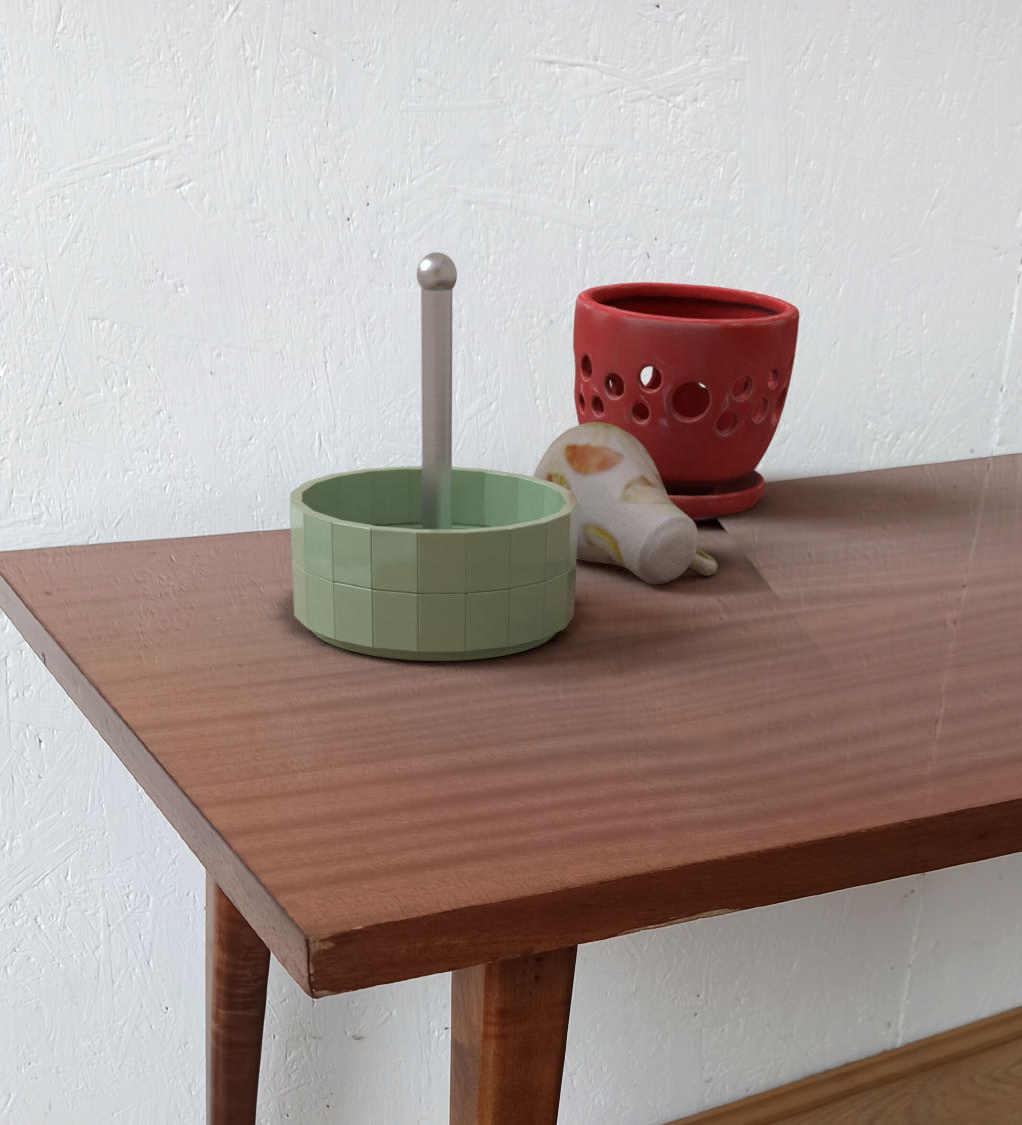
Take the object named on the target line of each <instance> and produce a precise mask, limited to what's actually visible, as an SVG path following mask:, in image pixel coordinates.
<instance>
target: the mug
mask: <svg viewBox="0 0 1022 1125" xmlns="http://www.w3.org/2000/svg"><path fill="white" fill-rule="evenodd" d="M532 477H535V478H539V479H542V480H546V481H550V482H553V483H556V484H558V485H560V486H562V487H563V488H565V489H567V490H569V491H571V492H573V493H574V495H575V497H576V499H577V501H578V503H579V510H578V534H577V558H576V560H581V561H584V562H585V561H586V562H590V563H599V564H606V565H613V566H620V567H623V568H624V569H627V570H628V571H630V572H631V573H633V574H634V575H636V576H637V577H638V578H639V579H641V580H642V581H644V582H645V583H647V584H650V585H662V584H666V583H668V582H671V581H673V580H675V579H677V578H679V577H680V576H681V575H682V574H683V573H684V572H685V571H686V570H687V569H688V568H689V570H693V571H695V572H697V573H698V574H699V575H702V576H713V575H715V574H716V572H717V570H718V563H717V561H716V560H715V558H714V557H712V556H711V555H709V554H708V553H707V552H705V551H703V550H701V549H700V548H698V544H699V533H698V529H697V525H696V522H694V521H693V520H692V519H691V518H690V517H689V516H688V515H686V514H685V513H684V512H683V511H681V510H680V509H679V508H678V507H677V506H676V505H675V504H673V502H672V501H671V500H670V498H669V497H668V494H667V492H666V490H665V487H664V485H663V483H662V480H661V477H660V475H659V472H658V470H657V468H656V466H655V464H654V462H653V460H652V458H651V456H650V454H649V453H648V451H647V450H646V449H645V447H644V446H643V445H642V444H641V443H640V442H639V441H638V440H637V439H636V438H635V437H634V436H632V435H631V434H630V433H628V432H626V431H625V430H623V429H621V428H619V427H617V426H614V425H611V424H607V423H601V422H592V423H586V424H581V425H579V424H577V425H575V426H573V427H569V428H568V429H566V430H565V431H564V432H562V433H561V434H560V435H558V436H557V437H556V438H555V439H554V440H553V441H552V442H551V443H550V444H549V446H548V448H547V449H546V451H545V453H544V454H543V455H542V457H541V459H540V460H539V462H538V465H537V466H536V468H535V471H534V473H533V476H532Z"/></svg>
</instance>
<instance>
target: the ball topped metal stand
mask: <svg viewBox="0 0 1022 1125" xmlns="http://www.w3.org/2000/svg"><path fill="white" fill-rule="evenodd" d="M457 279H458V270H457V267H456V264H455V262H454V261H453V260H452V258H451V257H450V256H448V255H447V254H445V253H443V252H437V251H436V252H435V251H434V252H430V253H428V254H426V255H424V257H422V259H421V260H420V261H419V263H418V265H417V268H416V280H417V283H418V286H419V287H420V294H421V295H420V311H421V312H420V314H421V315H420V318H421V319H420V320H421V321H420V323H421V324H420V326H421V329H420V331H421V332H420V333H421V334H420V336H421V337H420V338H421V342H420V343H421V349H420V350H421V351H420V352H421V466H422V529H451V507H452V467H453V466H452V465H453V463H452V462H453V290H454V288H455V286H456V283H457Z"/></svg>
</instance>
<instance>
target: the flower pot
mask: <svg viewBox="0 0 1022 1125" xmlns="http://www.w3.org/2000/svg"><path fill="white" fill-rule="evenodd" d="M573 317H574V318H573V332H572V334H573V335H572V336H573V337H572V350H573V355H574V356H573V357H574V387H573V388H574V389H573V396H574V397H573V399H574V405H575V406H574V407H575V412H576V417H577V422H578V425H581V424H586V423H592V422H601V423H607V424H611V425H614V426H617V427H619V428H621V429H623V430H625V431H626V432H628V433H630V434H631V435H632V436H634V437H635V438H636V439H637V440H638V441H639V442H640V443H641V444H642V445H643V446H644V447H645V449H646V450H647V451H648V453H649V454H650V456H651V458H652V460H653V462H654V464H655V466H656V468H657V470H658V472H659V475H660V477H661V480H662V483H663V485H664V487H665V490H666V492H667V494H668V497H669V498H670V500H671V501H672V502H673V504H675V505H676V506H677V507H678V508H679V509H680V510H681V511H683V512H684V513H685V514H686V515H688V516H689V517H690V518H691V519H692V520H693V521H694V523H703V522H711V521H718V518H717V517H719V516H720V517H721V516H728V515H733V514H738V513H740V512H744V511H747V510H749V509H751V508H752V507H753V506H754V505H755V504H756V503H758V501H759V500H760V499H761V497H762V496H763V494H764V492H765V488H766V481H765V478H764V476H763V475H762V474H761V473H760V472H758V471H757V470H756V469H757V467H758V466H759V464H760V463H761V461H762V460H763V458H764V456H765V454H766V453H767V451H768V449H769V447H770V445H771V442H772V441H773V439H774V437H775V434H776V431H777V429H778V426H779V423H780V420H781V417H782V415H783V411H784V408H785V404H786V400H787V398H788V393H789V388H790V384H791V380H792V374H793V369H794V365H795V358H796V350H797V343H798V336H799V334H798V333H799V326H800V325H799V324H800V311H799V309H798V307H797V306H796V305H794V304H792V303H790V302H788V301H786V300H783V299H781V298H777V297H775V296H772V295H768V294H763V293H759V292H754V291H748V290H742V289H738V288H737V289H735V288H729V287H723V286H713V285H711V286H710V285H703V284H689V283H673V282H651V281H650V282H648V281H645V282H643V281H642V282H624V283H613V284H605V285H598V286H594V287H590V288H588V289H584V290H583V291H581V292H579V293H578V295H577V297H576V299H575V307H574V316H573ZM650 367H651V368H652V371H651V376H650V378H649V380H648V382H647V383H646V384H644V381H643V380H642V372H643V370H645V369H646V368H650Z"/></svg>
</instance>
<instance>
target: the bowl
mask: <svg viewBox="0 0 1022 1125" xmlns="http://www.w3.org/2000/svg"><path fill="white" fill-rule="evenodd" d="M578 510H579V503H578V501H577V499H576V497H575V495H574V493H573V492H571V491H569V490H567V489H565V488H563V487H562V486H560V485H558V484H556V483H553V482H550V481H546V480H542V479H539V478H535V477H533V476H531V475H527V474H522V473H515V472H510V471H509V472H508V471H502V470H495V469H488V468H478V467H476V468H475V467H463V466H462V467H461V466H452V507H451V529H422V465H410V466H409V465H406V466H405V465H403V466H390V467H375V468H374V467H373V468H363V469H356V470H349V471H343V472H337V473H332V474H327V475H324V476H321V477H317V478H313V479H311V480H307V481H305V482H303V483H302V484H300V485H299V486H297V487H296V488H294V489H293V490H291V491H290V493H289V523H290V544H291V547H290V548H291V570H292V593H293V595H292V596H293V613H294V614H293V616H294V618H295V619H296V620H298V622H300V623H301V625H302V626H304V627H305V628H306V629H307V630H309V631H311V633H313V634H314V635H315V636H316V637H317V638H319V639H320V640H322V641H323V642H325V643H328V644H330V645H332V646H334V647H337V648H340V649H343V650H347V651H350V652H354V653H358V654H361V655H367V656H372V657H379V658H386V659H392V660H393V659H394V660H403V661H404V660H405V661H416V662H417V661H420V662H452V661H453V662H456V661H457V662H461V661H475V660H483V659H490V658H498V657H503V656H509V655H513V654H518V653H522V652H525V651H528V650H531V649H534V648H536V647H539V646H541V645H543V644H545V643H547V642H548V641H550V640H551V639H552V638H554V637H555V636H556V635H557V634H558V633H559V632H561V631H563V630H565V629H566V628H567V627H568V625H569V624H570V623H571V621H572V619H574V616H575V607H576V606H575V601H576V580H577V579H576V578H577V534H578Z"/></svg>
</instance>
